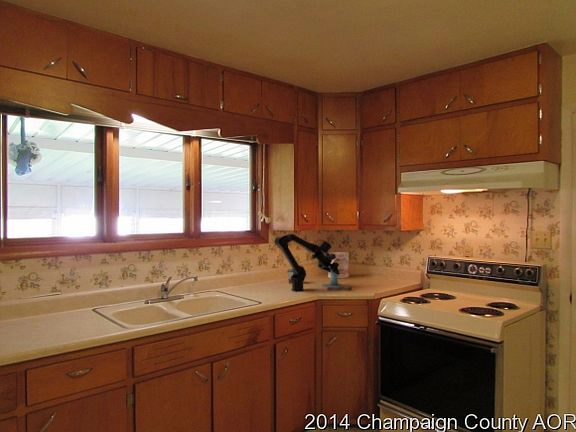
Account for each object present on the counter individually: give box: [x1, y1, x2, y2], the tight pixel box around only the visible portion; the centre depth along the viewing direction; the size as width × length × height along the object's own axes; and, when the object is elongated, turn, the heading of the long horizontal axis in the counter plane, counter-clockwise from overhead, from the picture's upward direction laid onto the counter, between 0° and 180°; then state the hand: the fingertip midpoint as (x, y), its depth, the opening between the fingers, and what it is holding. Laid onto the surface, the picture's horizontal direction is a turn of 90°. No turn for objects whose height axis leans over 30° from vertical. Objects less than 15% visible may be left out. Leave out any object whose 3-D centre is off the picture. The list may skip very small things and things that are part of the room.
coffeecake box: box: [327, 251, 350, 279], centre depth 311 cm, size 15×7×20 cm, turn 119°
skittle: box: [330, 271, 339, 286], centre depth 274 cm, size 5×5×10 cm
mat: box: [321, 283, 347, 288], centre depth 274 cm, size 12×12×1 cm
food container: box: [286, 268, 293, 285], centre depth 287 cm, size 12×6×10 cm, turn 84°
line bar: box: [326, 286, 353, 292], centre depth 261 cm, size 16×2×2 cm, turn 96°
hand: (335, 273), depth 274 cm, fingers open, 9 cm apart
